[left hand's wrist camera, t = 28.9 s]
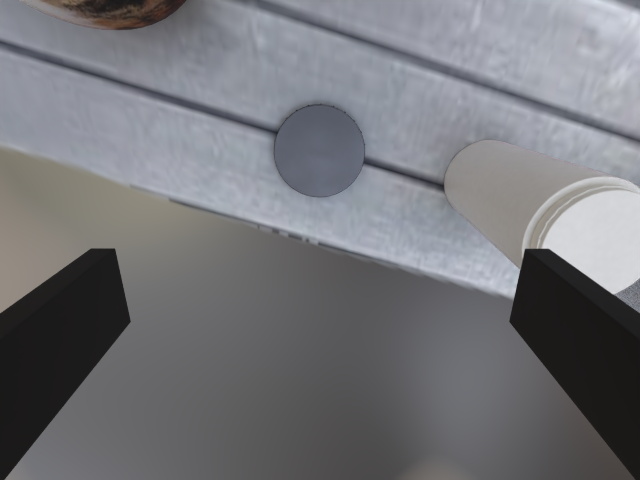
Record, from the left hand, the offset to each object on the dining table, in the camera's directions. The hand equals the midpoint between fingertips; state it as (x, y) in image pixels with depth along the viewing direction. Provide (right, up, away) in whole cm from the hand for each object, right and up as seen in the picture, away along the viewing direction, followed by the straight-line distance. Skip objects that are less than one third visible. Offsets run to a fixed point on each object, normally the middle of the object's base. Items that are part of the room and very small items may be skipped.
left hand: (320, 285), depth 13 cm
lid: (0, +10, +26) cm, 28 cm away
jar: (+17, +8, +29) cm, 34 cm away
